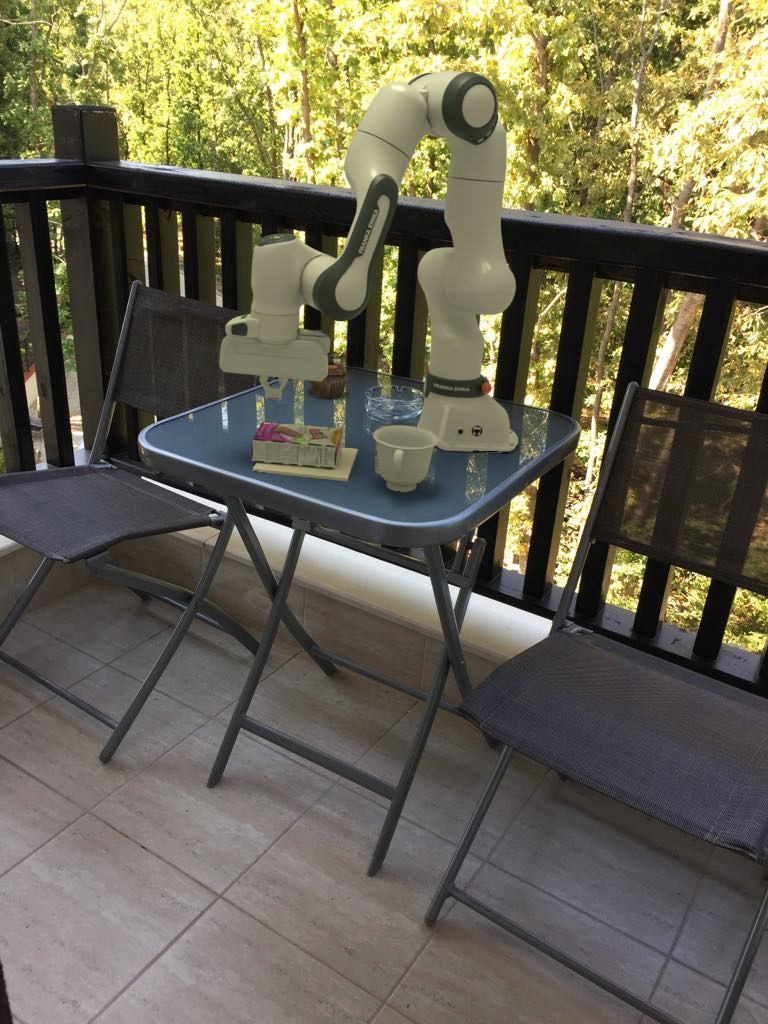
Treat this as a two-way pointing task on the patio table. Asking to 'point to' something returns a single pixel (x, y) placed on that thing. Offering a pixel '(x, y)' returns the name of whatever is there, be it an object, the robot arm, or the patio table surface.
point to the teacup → (404, 455)
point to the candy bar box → (297, 445)
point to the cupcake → (331, 380)
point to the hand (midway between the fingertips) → (273, 398)
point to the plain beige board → (314, 468)
